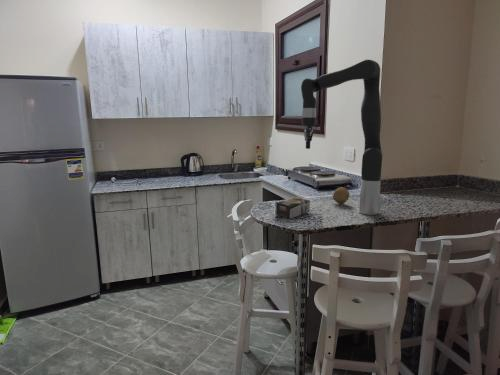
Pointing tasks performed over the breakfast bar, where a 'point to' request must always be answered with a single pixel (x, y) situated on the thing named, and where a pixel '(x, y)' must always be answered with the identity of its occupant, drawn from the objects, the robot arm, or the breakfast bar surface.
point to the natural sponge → (341, 195)
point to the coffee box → (292, 207)
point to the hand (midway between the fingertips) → (307, 148)
